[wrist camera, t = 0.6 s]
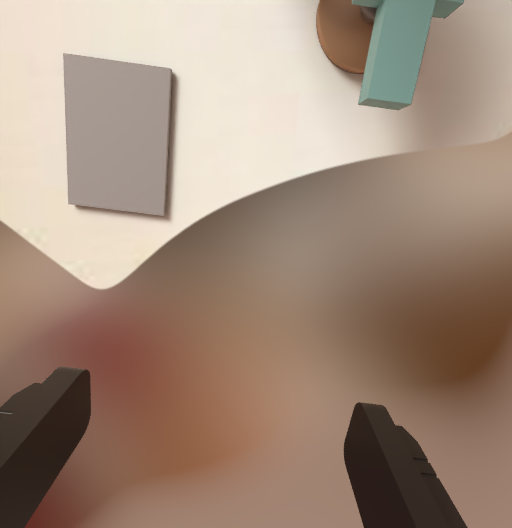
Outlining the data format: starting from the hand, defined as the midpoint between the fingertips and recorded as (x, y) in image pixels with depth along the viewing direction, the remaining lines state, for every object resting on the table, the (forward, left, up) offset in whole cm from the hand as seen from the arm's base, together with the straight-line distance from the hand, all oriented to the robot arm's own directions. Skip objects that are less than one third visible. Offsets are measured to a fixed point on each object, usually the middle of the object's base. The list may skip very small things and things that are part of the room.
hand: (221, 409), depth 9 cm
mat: (-8, -14, -26) cm, 31 cm away
